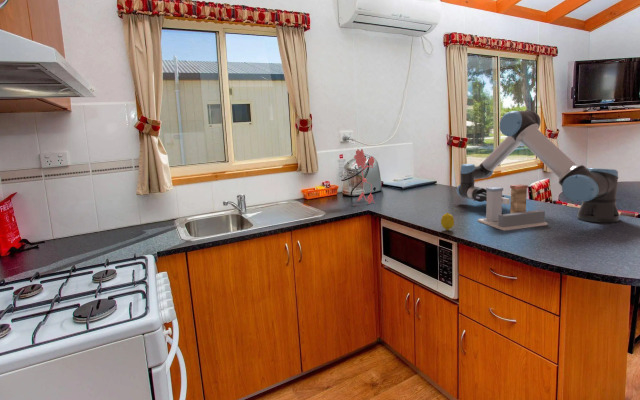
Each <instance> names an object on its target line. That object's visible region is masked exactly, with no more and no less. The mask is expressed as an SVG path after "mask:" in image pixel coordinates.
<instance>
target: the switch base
mask: <svg viewBox="0 0 640 400" xmlns="http://www.w3.org/2000/svg"><path fill="white" fill-rule="evenodd" d="M545 214H546V211H545V210H543V209H542V210H541V209H537V210H536V209H535V210H529V211H527V210H526V212H519V213H505V214H504V213H503V214H501V215H499V219H498V221H490V220H487V219H486V217H485V218H477V222H478V223H481V224H483V225H484V224H485V225H487V226H490V227H493V228H496V229H498V230H501V231H512V230H519V229H525V228H526V229H527V228H534V227H535V228H536V227H541V226H547V225H548V222H546V221H545V218H546V217H545V216H546V215H545Z"/></svg>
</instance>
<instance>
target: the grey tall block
mask: <svg viewBox="0 0 640 400" xmlns="http://www.w3.org/2000/svg"><path fill="white" fill-rule="evenodd" d="M485 189H486V191H487V201H485V202H486V205H485V207H486V208H485V210H486V211H485V218H486V219H487V220H490V221H498V219H499V215H502V210H503V209H502V208H503V206H502V205H503V203H502V196H503V191H504V188H503V187H499V186H492V187H490V186H489V187H485Z"/></svg>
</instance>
